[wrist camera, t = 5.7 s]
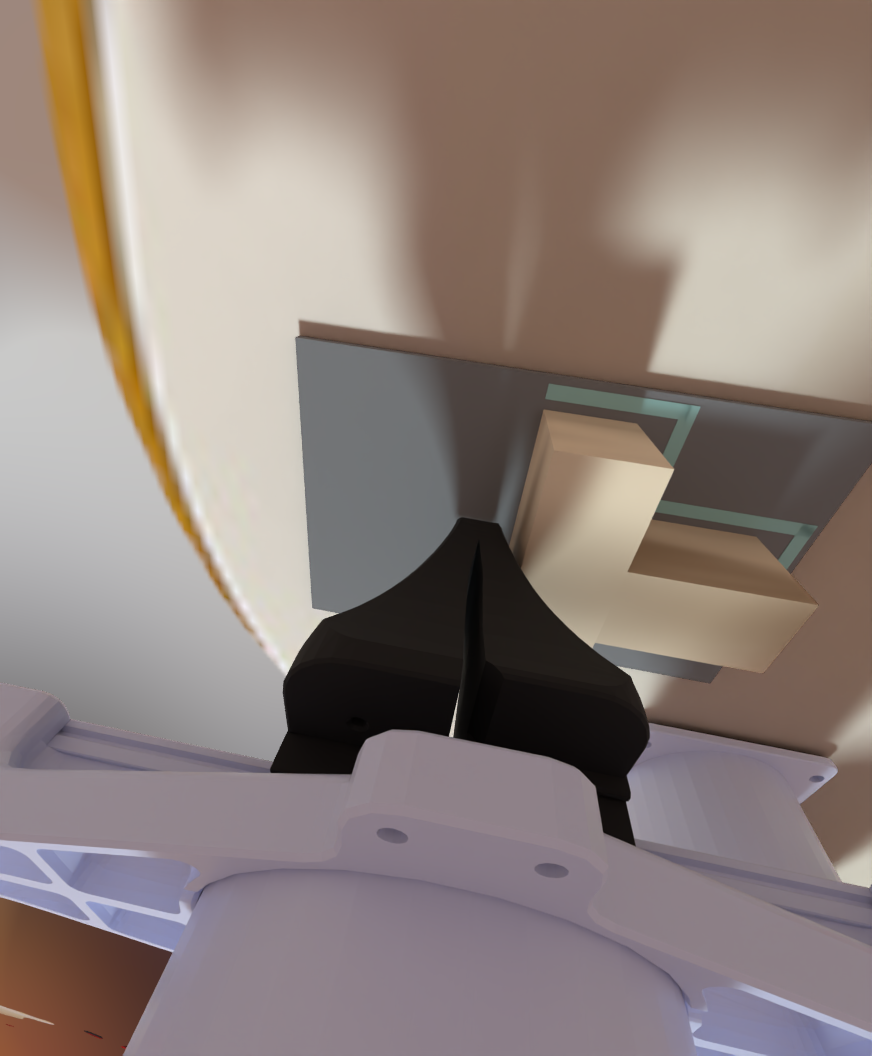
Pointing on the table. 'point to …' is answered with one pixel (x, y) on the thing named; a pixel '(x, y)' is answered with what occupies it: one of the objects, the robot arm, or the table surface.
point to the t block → (644, 555)
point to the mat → (504, 457)
